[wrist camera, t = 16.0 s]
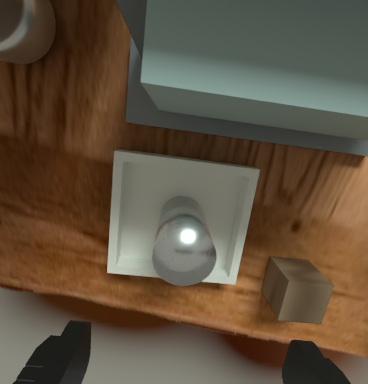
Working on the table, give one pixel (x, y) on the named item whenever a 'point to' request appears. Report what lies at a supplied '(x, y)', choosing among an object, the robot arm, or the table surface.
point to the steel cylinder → (183, 243)
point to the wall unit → (252, 70)
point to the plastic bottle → (26, 30)
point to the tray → (167, 189)
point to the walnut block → (296, 290)
